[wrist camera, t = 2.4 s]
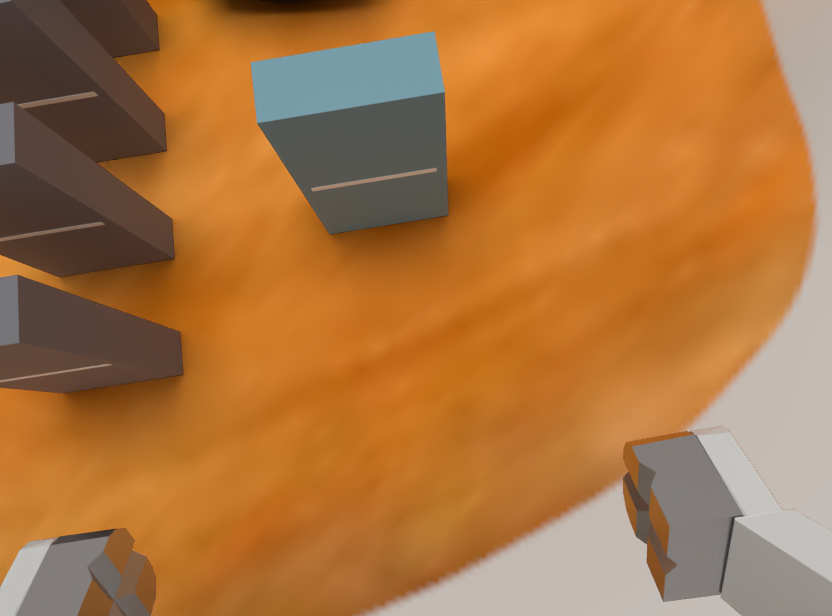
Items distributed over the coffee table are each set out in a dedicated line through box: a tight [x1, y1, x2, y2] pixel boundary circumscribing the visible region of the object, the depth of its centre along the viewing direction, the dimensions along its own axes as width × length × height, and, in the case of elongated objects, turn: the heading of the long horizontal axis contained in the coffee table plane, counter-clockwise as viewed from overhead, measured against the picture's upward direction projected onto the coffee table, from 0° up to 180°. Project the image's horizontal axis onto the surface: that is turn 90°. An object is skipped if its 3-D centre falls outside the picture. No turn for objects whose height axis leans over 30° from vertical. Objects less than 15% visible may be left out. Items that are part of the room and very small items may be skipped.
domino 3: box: [0, 102, 175, 277], centre depth 25 cm, size 2×6×11 cm, turn 98°
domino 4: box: [0, 0, 167, 162], centre depth 26 cm, size 2×6×11 cm, turn 98°
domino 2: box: [0, 275, 183, 393], centre depth 23 cm, size 2×6×11 cm, turn 98°
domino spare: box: [251, 32, 448, 234], centre depth 24 cm, size 2×6×11 cm, turn 98°
